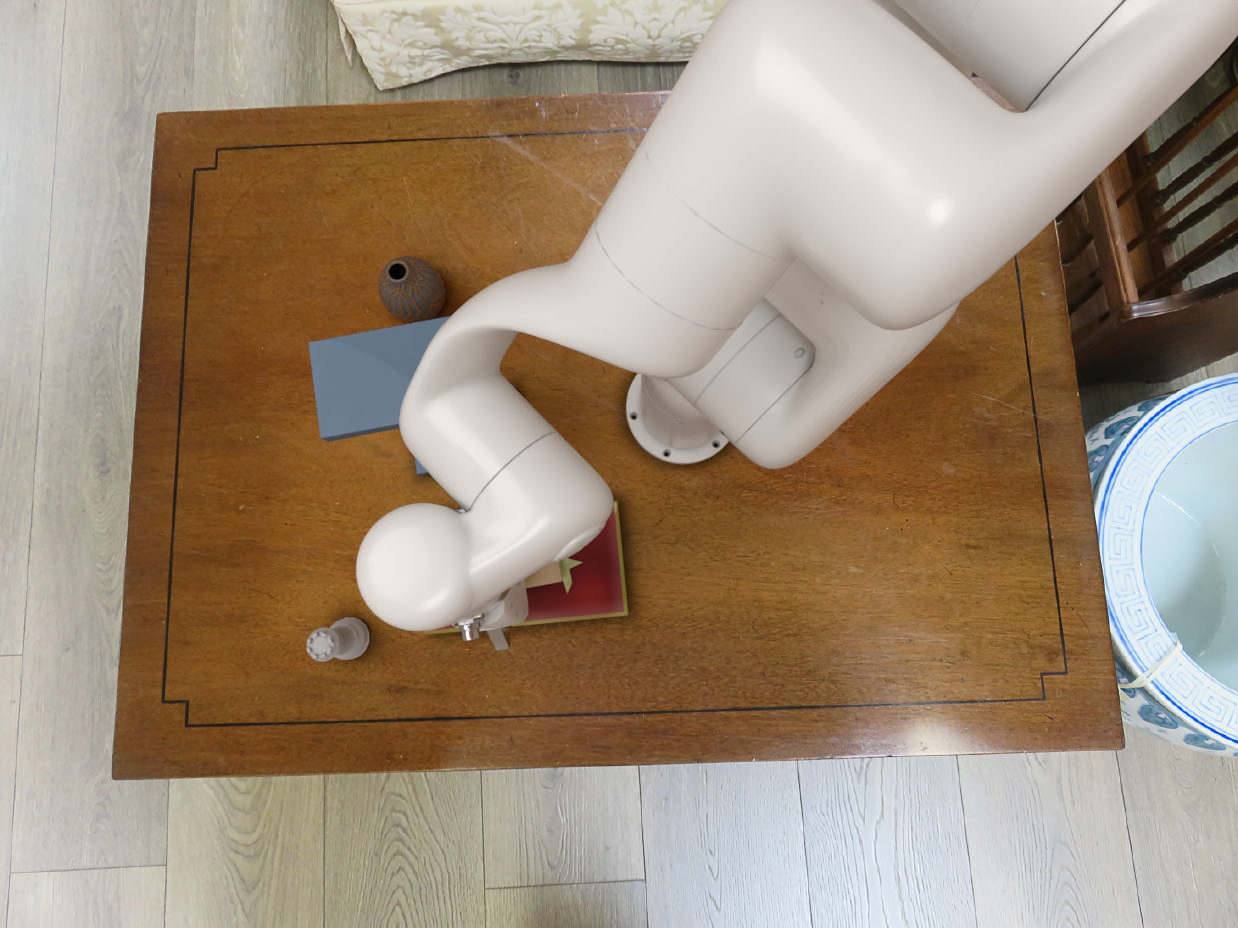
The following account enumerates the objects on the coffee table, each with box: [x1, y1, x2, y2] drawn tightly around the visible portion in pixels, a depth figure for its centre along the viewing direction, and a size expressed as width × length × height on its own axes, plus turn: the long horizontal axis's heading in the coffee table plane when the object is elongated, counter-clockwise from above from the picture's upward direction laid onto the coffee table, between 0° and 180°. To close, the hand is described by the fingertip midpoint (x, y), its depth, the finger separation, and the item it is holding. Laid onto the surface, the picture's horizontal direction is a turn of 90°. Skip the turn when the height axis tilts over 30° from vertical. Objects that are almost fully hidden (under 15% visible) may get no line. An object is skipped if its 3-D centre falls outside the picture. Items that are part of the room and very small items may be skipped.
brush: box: [524, 561, 563, 588], centre depth 70 cm, size 11×4×10 cm, turn 101°
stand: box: [307, 315, 516, 477], centre depth 69 cm, size 14×8×24 cm, turn 101°
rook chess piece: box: [306, 616, 370, 663], centre depth 74 cm, size 4×4×8 cm
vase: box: [377, 255, 446, 324], centre depth 79 cm, size 7×7×9 cm
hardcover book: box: [423, 500, 629, 636], centre depth 77 cm, size 12×21×4 cm, turn 95°
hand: (504, 569), depth 71 cm, fingers open, 4 cm apart
